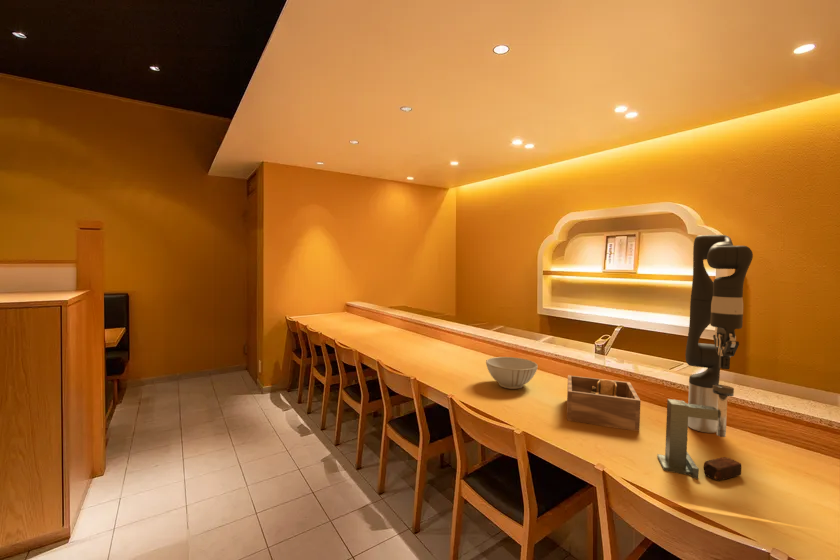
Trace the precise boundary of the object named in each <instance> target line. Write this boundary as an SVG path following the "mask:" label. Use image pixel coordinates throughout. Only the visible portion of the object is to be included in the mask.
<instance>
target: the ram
mask: <svg viewBox="0 0 840 560" xmlns="http://www.w3.org/2000/svg"><path fill="white" fill-rule="evenodd" d="M734 390H735V388H734V387H732V386H730V385H725V384H720V383H719V384H714V385H713V393H715V394H718V421H717V432H716V436H718V437H720V438H726V437H727V434H726V433H727V417H728V416H727V413H728V412H727V411H728V397H734V393H735V391H734Z"/></svg>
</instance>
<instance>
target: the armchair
mask: <svg viewBox="0 0 840 560" xmlns="http://www.w3.org/2000/svg"><path fill="white" fill-rule="evenodd" d="M602 379H603V380H599V381H598V382H597V388H596V387H594V386H592V391H591V393H593V394H601V395H608V396H616V397H617V384H616V382H614V381H612V379H605V378H602ZM595 391H597V392H595Z"/></svg>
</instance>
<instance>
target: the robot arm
mask: <svg viewBox="0 0 840 560" xmlns="http://www.w3.org/2000/svg"><path fill="white" fill-rule="evenodd" d="M692 247H693V250H692V252H693V253H692V255H693V256H692V262H693V263H692V264H693V265H692V269H693V270H692V285H691V291H690V292H691V294H690V303H689V322H688V323H689V324H688V325H689V326H688V334H687V341H686V346H685V361H686V362H685V363H686V364H687V365H688V366H690V367H697V368H704V369H705V368H706V370H704V371H701V372H699V373H693V374H691V375H689V378H688V399H687V400H688V401H687V404H695V405H703V406H711V407H715V408H716V409H717V410H718V394H715V393H713V385H714V384H719V385H720V376H721V374H720V373H721V370H730V367H731V357H734V356H735V354H736V352H737V350H738V347H739V345H740V342H739V341H737V335H736V331H735V330H740V329H742V328H743V323H744V320H743V318H744V300H743V299H744V298H743V296H744V283H745V278H746V275H747V273H748V270H749V268H750V266H751V263H752V260H753V257H754V254H753V251H752V249H751V248H750V247H749V246H747V245H734V244H733V240H732V239H731V237H730V236H729V235H727V234H700V235H698V234H697V236H695V238H694V241H693V246H692ZM704 260H706V261H707V264H708V267H710V268H711V269H716V270H734V272H733V273H732V274H731V275H728V276H720V277H715V278H714V280H712V278H711V277H710V275H709V273H708V271H707V269H706V267H705V264H704ZM708 326H711V327H713V328H717V329H716V332H715V334H713V336H712V337H713V342H714V344H713V343H701V342H700V338H701V336H702V334H703V332H704V331H705V330H706V329H707V328H708ZM688 428H690V429H692V430H694V431H698V432H702V433H707V434H715V433H717V420H709V419H702V418H695V417H688Z"/></svg>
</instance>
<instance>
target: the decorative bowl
mask: <svg viewBox="0 0 840 560" xmlns="http://www.w3.org/2000/svg"><path fill="white" fill-rule="evenodd" d="M485 364H486V367H487V368H486V369H487V371H488V372H489V374H490V376H491V378H492V379H494V381H496V382H497V383H498V385H499V386H500V387H502V388H505V389H511V390H518V389H522V388H523V387H524V386H525V385H526V384H528V383H529V382H530V381H531V380H532V379H533V378H534V376H535V375H536V373H537V370H538V363H536V362H535V361H532V360H529V359H527V358H526V359H525V358H521V357H513V356H497V357H490V358H487V359H486V361H485Z"/></svg>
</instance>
